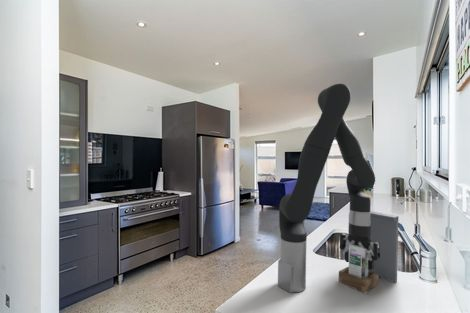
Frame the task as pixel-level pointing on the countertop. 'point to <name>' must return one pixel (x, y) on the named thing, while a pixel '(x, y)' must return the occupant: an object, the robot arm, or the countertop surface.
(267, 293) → the countertop surface
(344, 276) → the socket
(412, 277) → the countertop surface
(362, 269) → the syrup box
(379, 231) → the upright grey panel
